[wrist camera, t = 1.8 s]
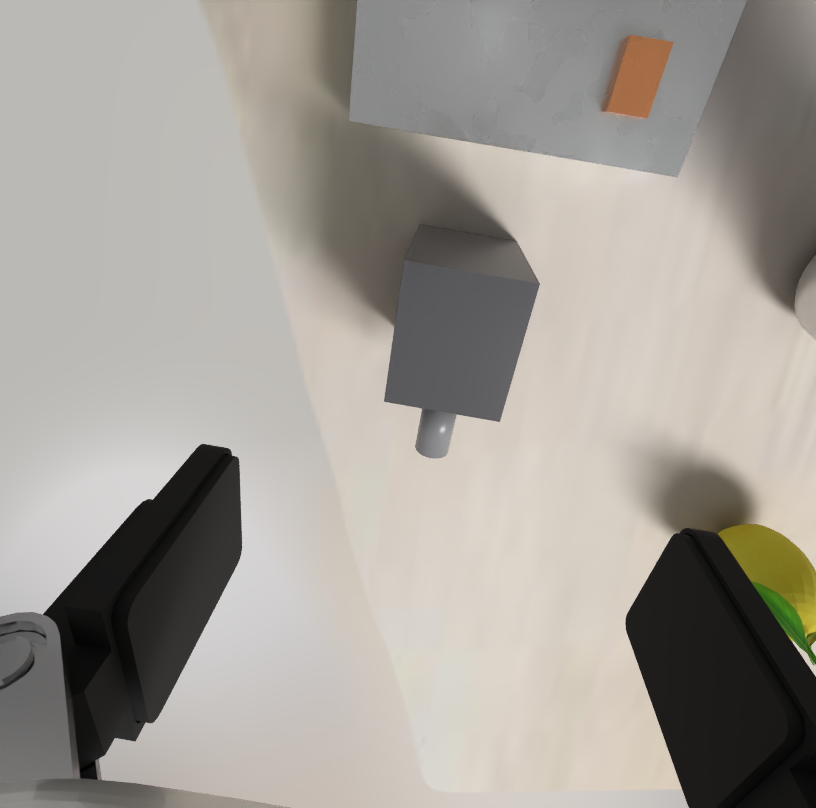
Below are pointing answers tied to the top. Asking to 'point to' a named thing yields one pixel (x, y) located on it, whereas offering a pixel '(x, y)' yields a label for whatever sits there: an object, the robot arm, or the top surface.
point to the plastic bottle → (807, 298)
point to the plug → (458, 329)
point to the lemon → (778, 578)
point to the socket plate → (545, 73)
